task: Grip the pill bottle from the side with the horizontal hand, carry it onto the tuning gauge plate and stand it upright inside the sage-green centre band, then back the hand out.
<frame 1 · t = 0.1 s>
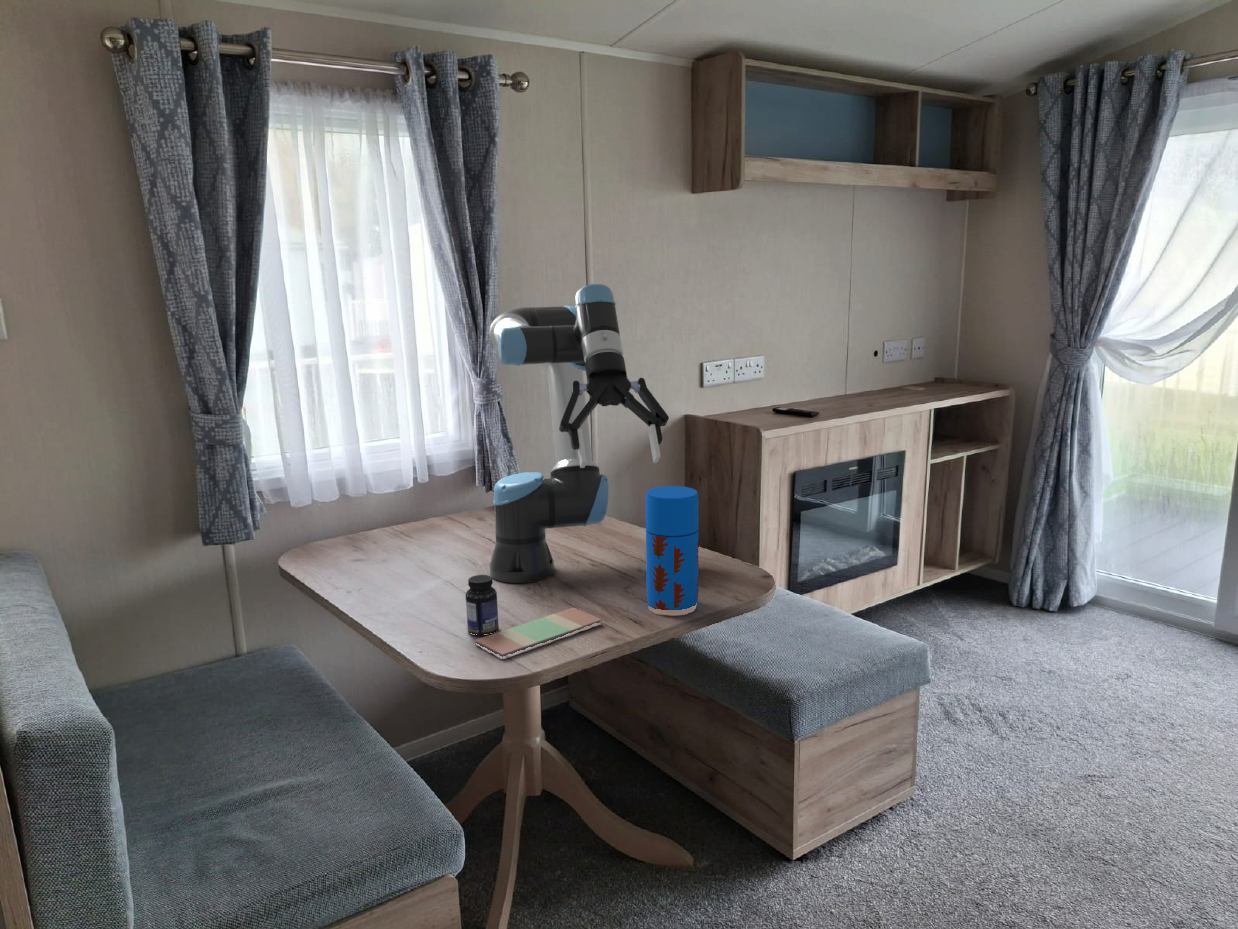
hand: (620, 462, 162), 36 cm above the table, tool tilted 35°, fingers open, 13 cm apart
handheld game console: (675, 576, 210), on the table
thermos: (672, 608, 190), on the table
gauge plate: (540, 635, 176), on the table
pill bottle: (483, 632, 179), on the table
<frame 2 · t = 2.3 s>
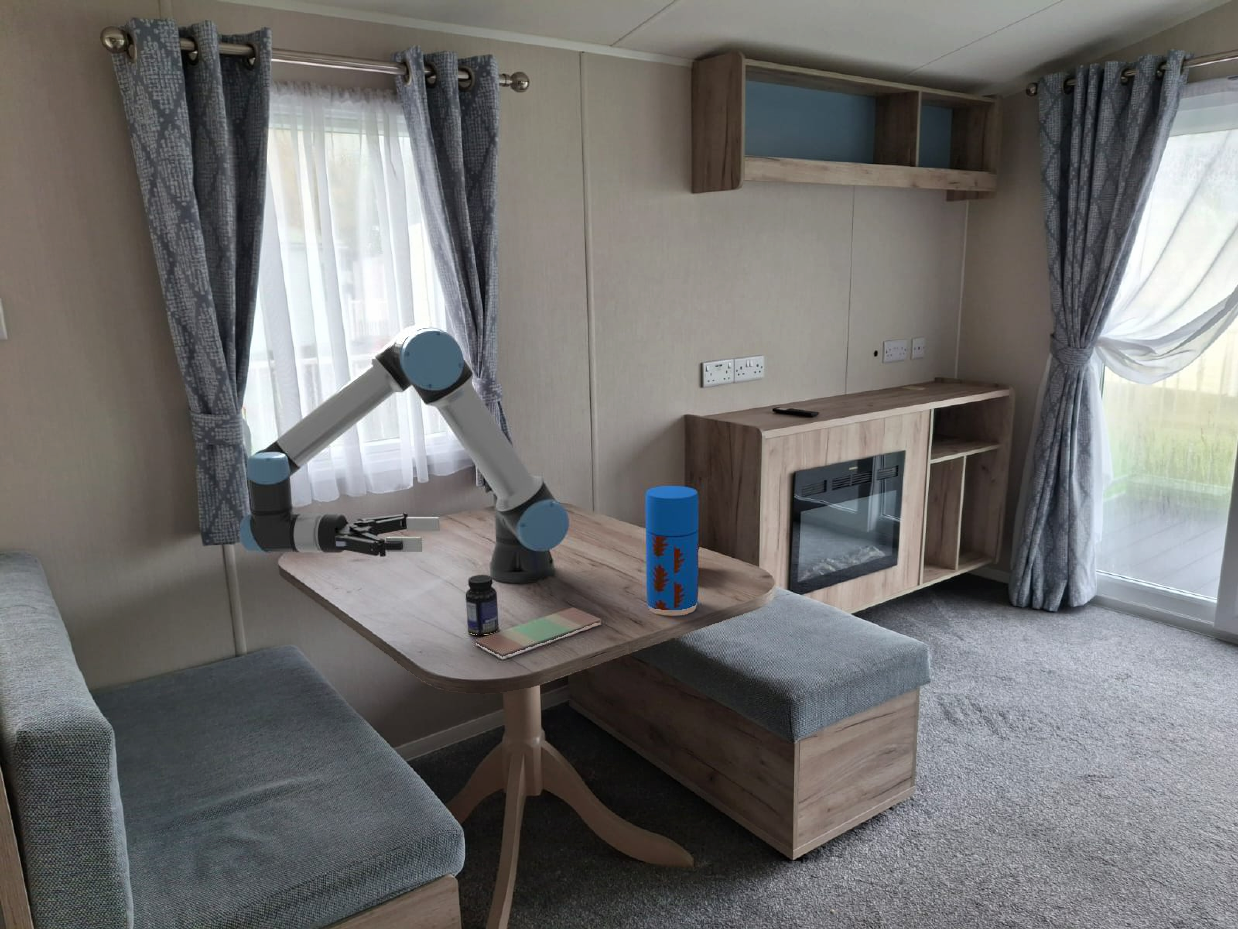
hand: (430, 533, 175), 20 cm above the table, tool horizontal, fingers open, 13 cm apart
nothing on the table moved.
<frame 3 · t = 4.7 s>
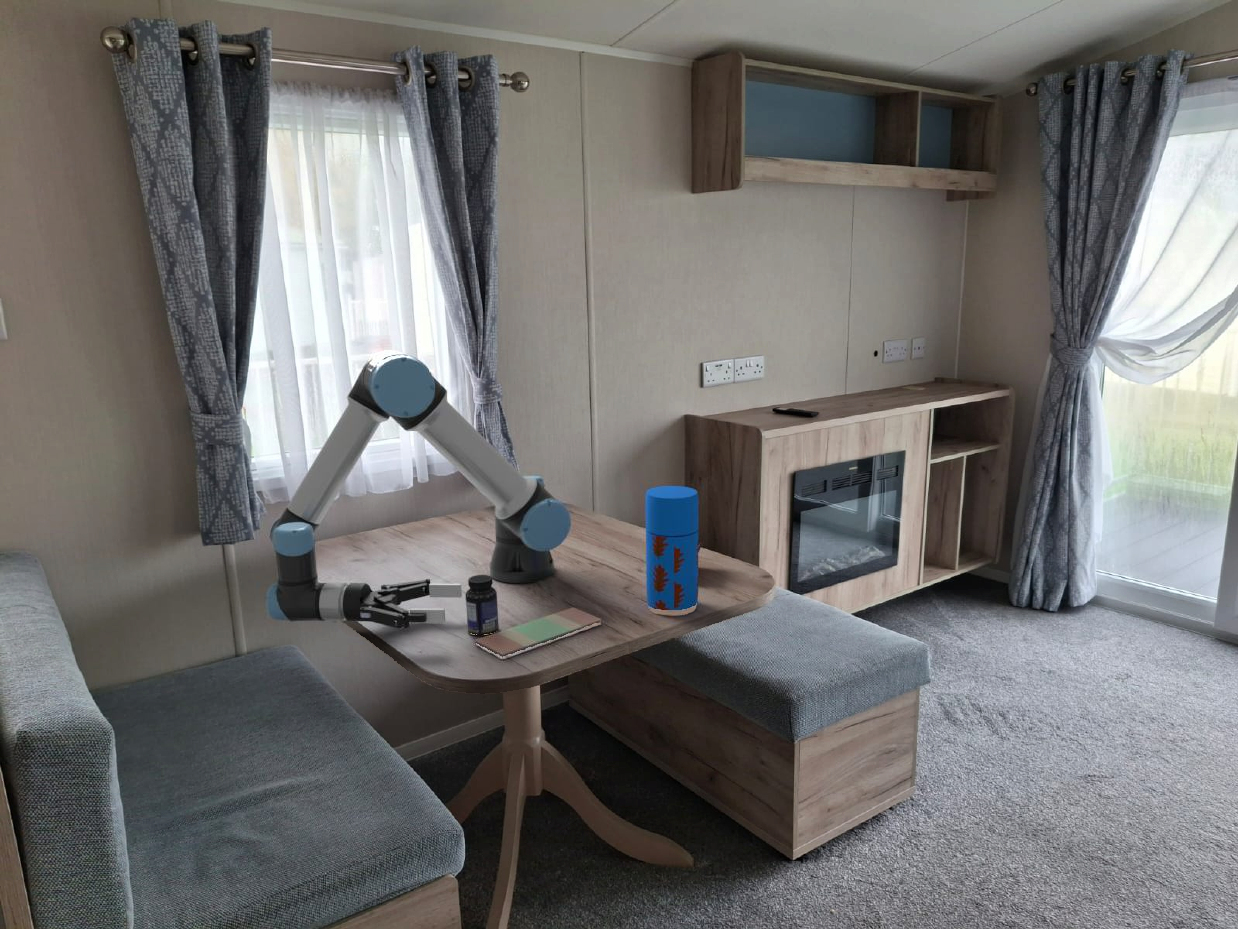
hand: (453, 602, 177), 6 cm above the table, tool horizontal, fingers open, 13 cm apart
nothing on the table moved.
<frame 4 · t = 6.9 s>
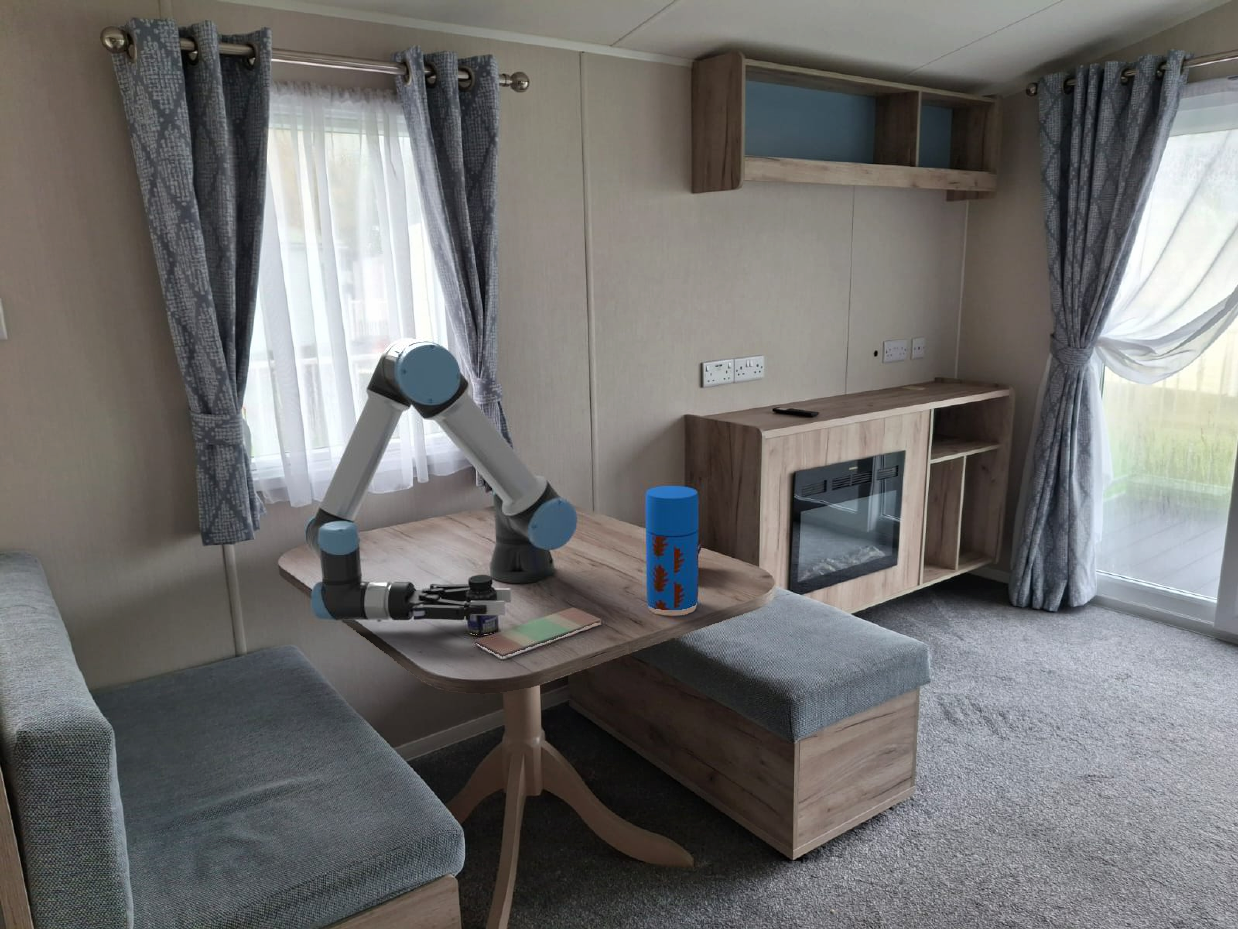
hand: (507, 601, 177), 6 cm above the table, tool horizontal, fingers closed on pill bottle, 6 cm apart
pill bottle: (483, 632, 179), on the table, touching gripper
everything else where it was.
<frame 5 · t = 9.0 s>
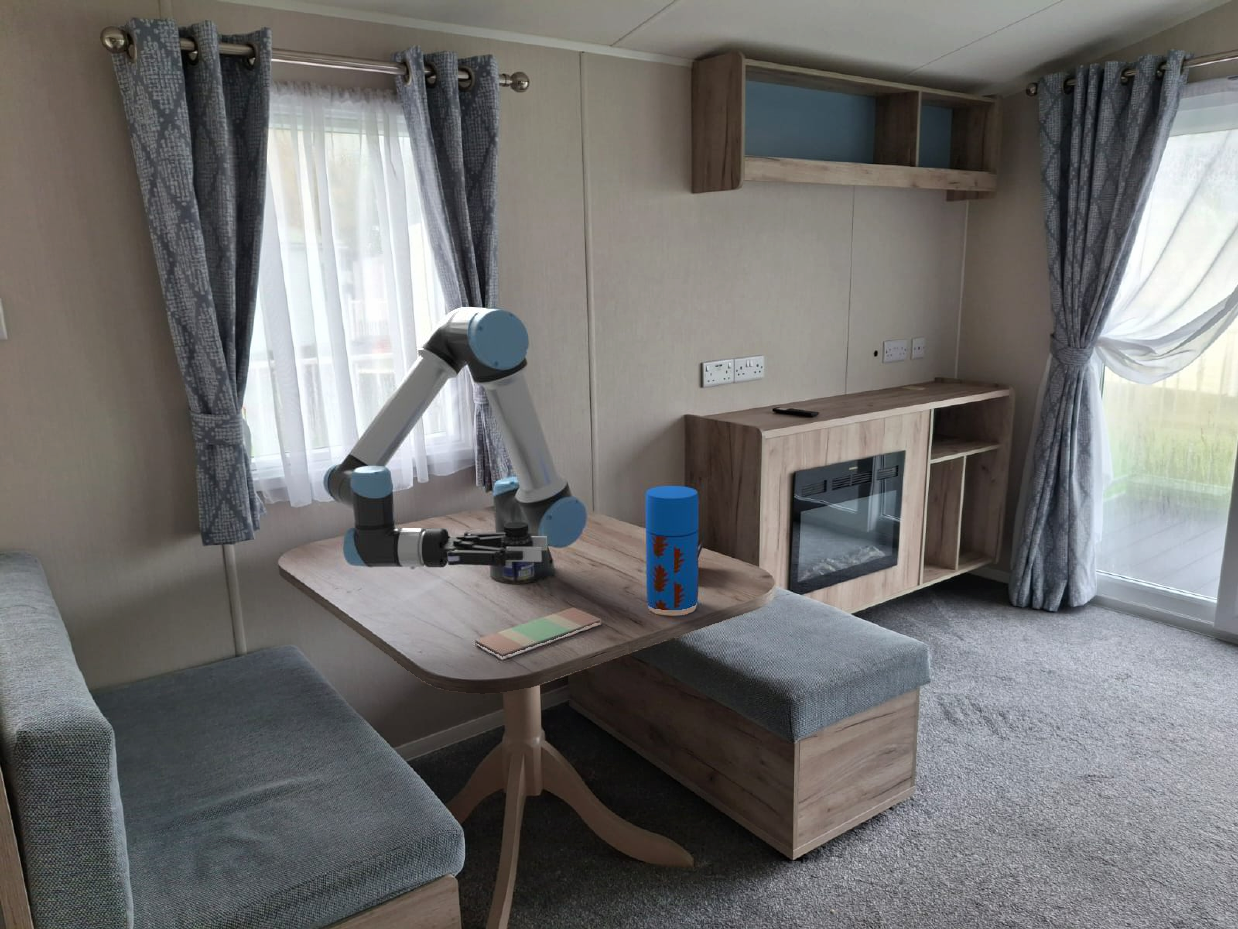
hand: (543, 548, 172), 18 cm above the table, tool horizontal, fingers closed on pill bottle, 6 cm apart
pill bottle: (518, 580, 174), point 11 cm above the table, touching gripper
everything else where it was.
when the fingers open (9 cm above the table, at t = 11.3 s): pill bottle drops 1 cm, resting on gauge plate.
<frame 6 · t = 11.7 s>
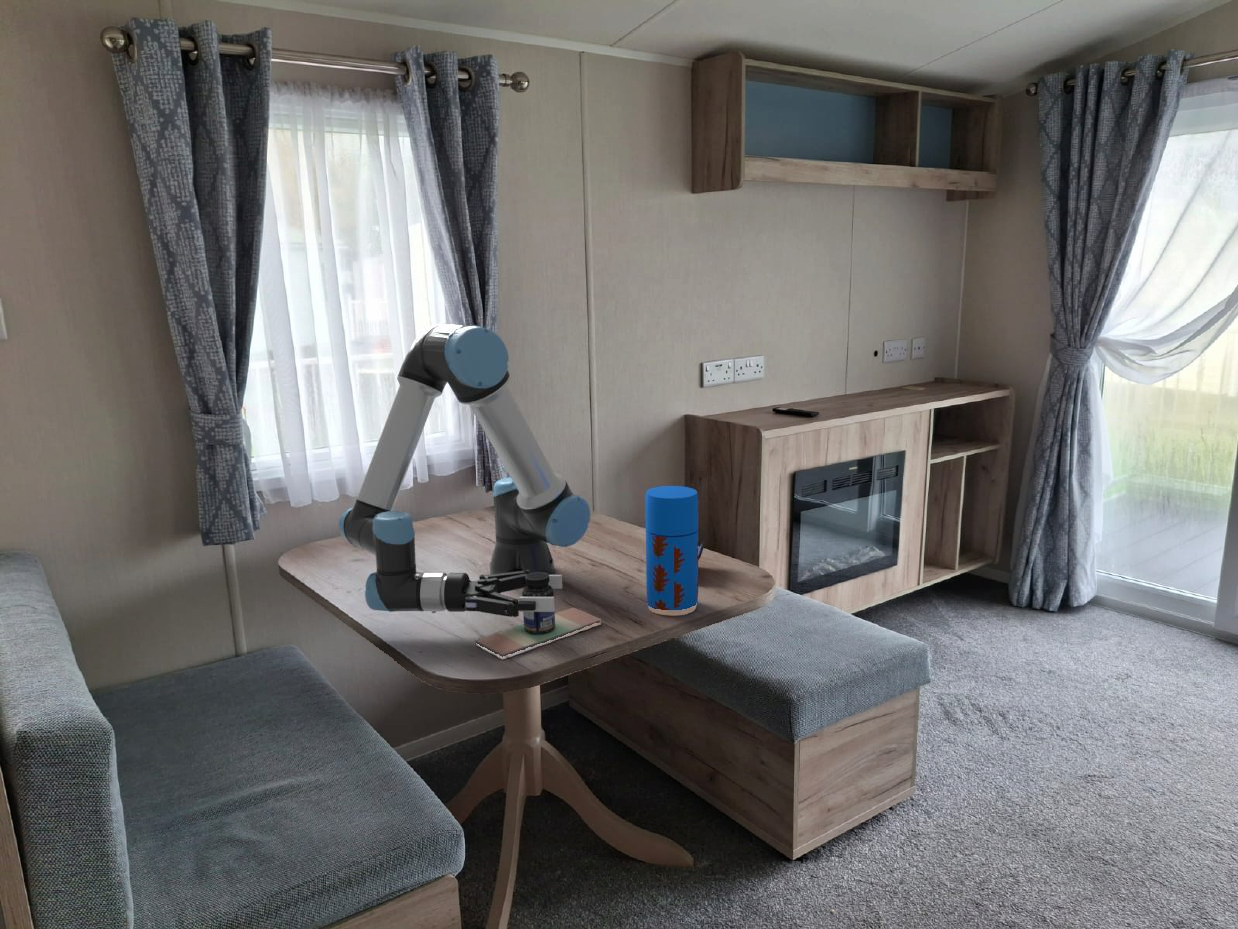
hand: (558, 592, 174), 9 cm above the table, tool horizontal, fingers open, 11 cm apart
pill bottle: (539, 630, 176), point 1 cm above the table, touching gauge plate
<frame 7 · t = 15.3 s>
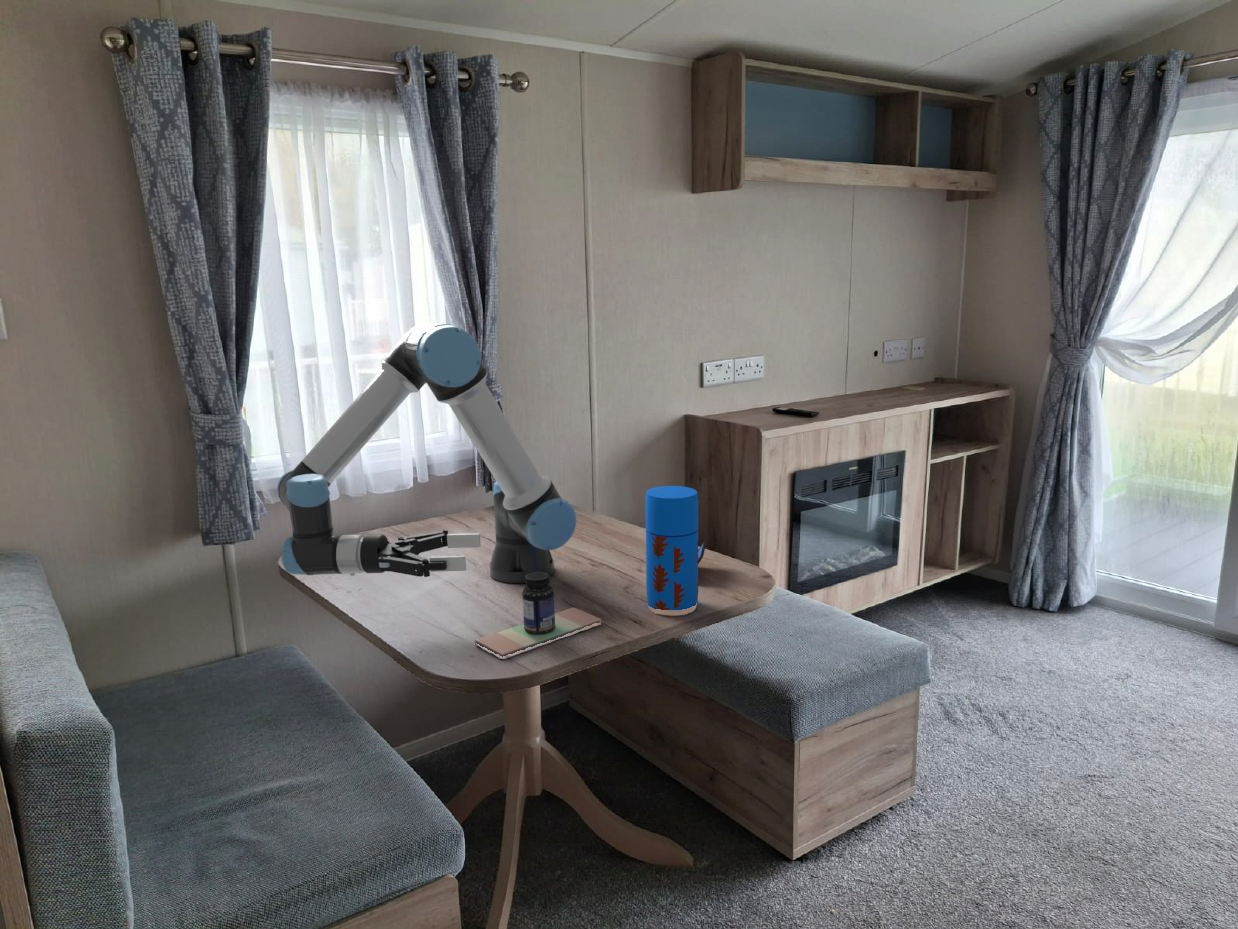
hand: (473, 551, 174), 17 cm above the table, tool horizontal, fingers open, 13 cm apart
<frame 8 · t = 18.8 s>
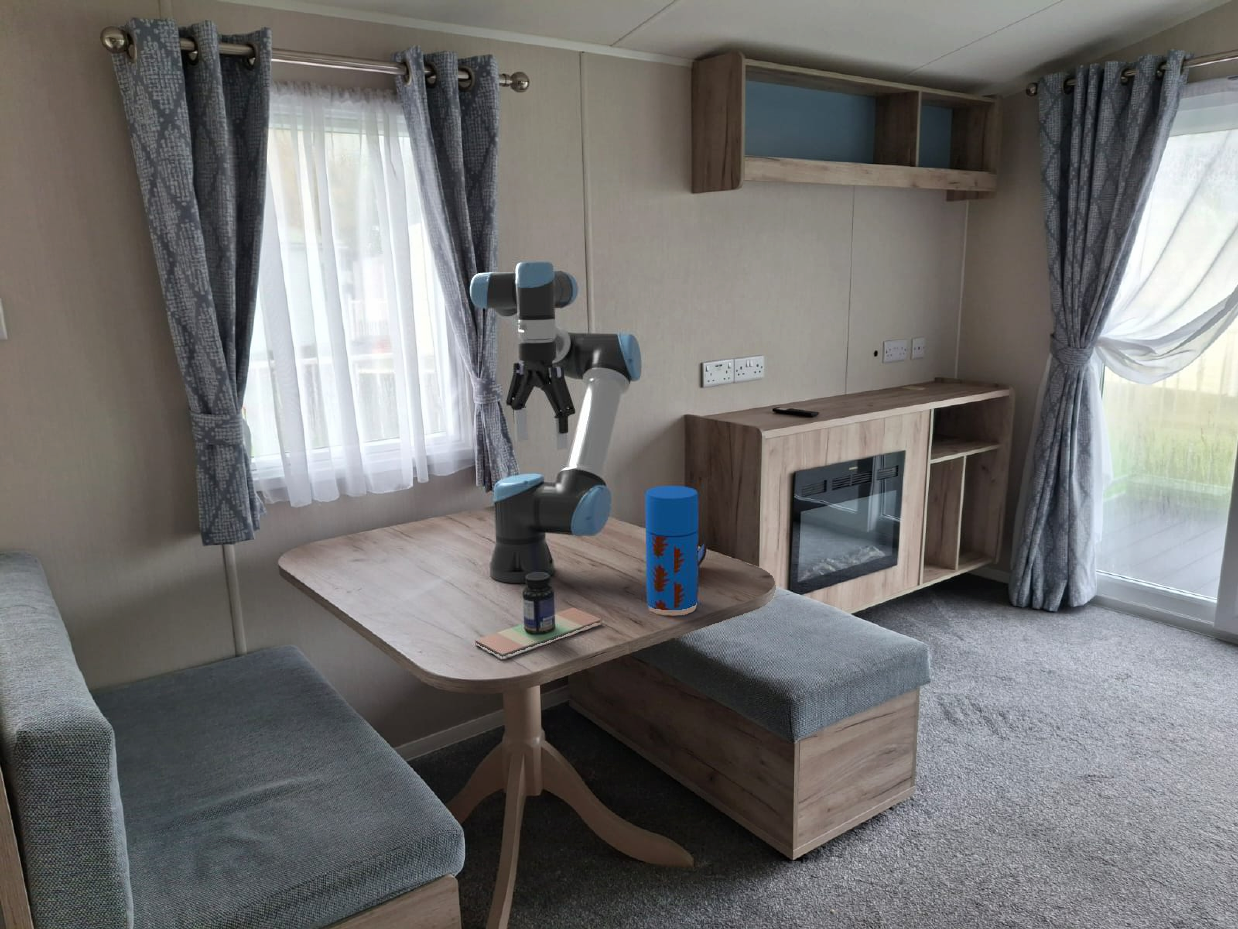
hand: (540, 444, 185), 35 cm above the table, tool pointing down, fingers open, 13 cm apart
at the end: pill bottle inside the target area (0.1 cm from its centre), point 1.0 cm above the table; pill bottle tilted 0°; the gripper is holding nothing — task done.
